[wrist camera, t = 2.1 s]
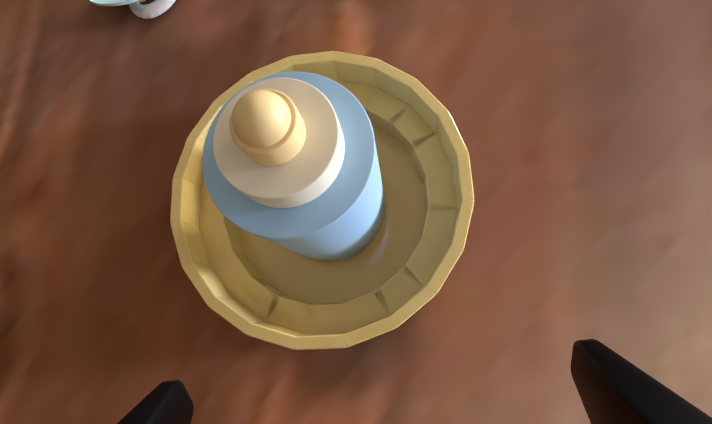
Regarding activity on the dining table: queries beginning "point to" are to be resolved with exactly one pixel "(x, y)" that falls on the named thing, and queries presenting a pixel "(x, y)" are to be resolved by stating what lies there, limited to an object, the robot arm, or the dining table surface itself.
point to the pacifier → (140, 6)
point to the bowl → (364, 270)
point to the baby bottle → (297, 166)
